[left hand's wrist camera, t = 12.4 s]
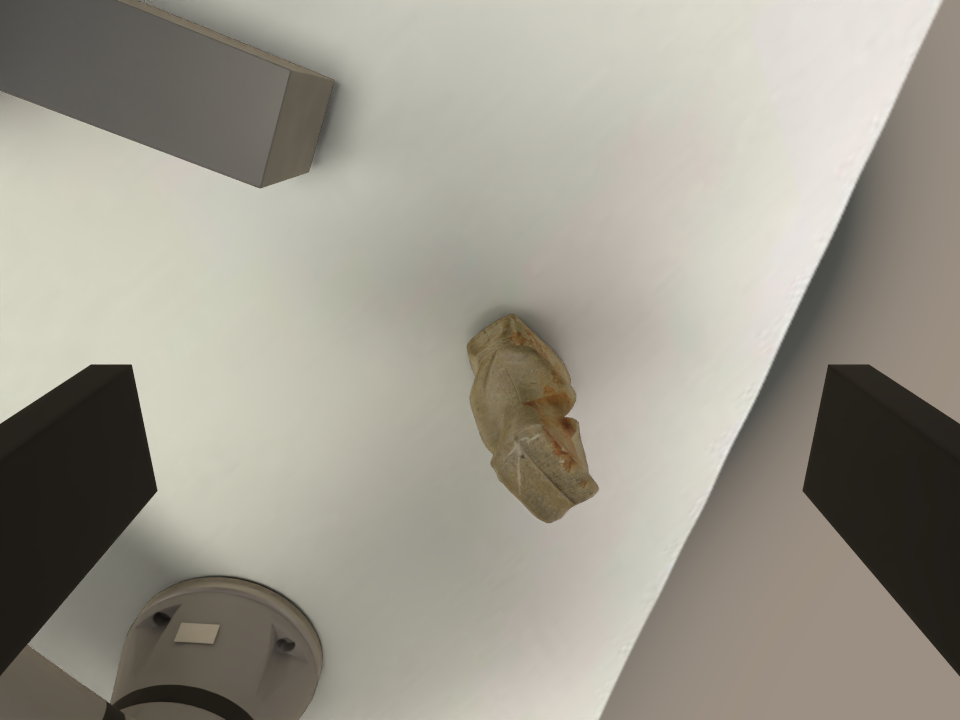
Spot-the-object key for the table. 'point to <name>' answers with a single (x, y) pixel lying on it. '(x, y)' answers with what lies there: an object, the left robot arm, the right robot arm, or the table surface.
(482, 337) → the sculpture
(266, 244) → the table surface
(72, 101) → the bar
